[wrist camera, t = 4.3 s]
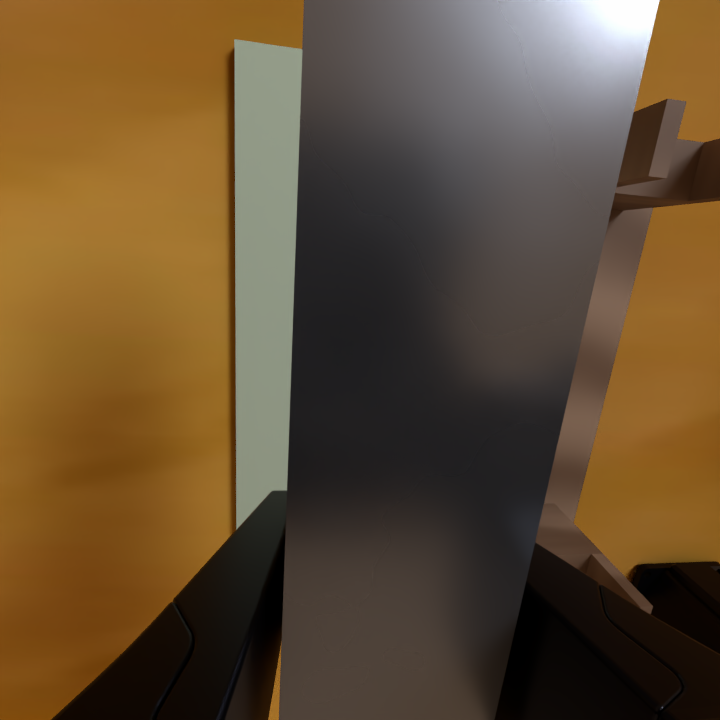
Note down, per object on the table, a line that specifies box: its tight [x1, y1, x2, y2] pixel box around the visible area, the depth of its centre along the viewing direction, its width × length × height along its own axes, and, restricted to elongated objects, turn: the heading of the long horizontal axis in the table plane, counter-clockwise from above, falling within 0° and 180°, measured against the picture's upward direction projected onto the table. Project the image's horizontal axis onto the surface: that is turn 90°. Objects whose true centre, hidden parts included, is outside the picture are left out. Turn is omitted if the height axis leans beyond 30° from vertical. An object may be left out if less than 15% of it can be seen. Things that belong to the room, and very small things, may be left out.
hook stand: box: [535, 99, 720, 614], centre depth 18 cm, size 22×8×8 cm, turn 176°
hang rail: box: [279, 0, 659, 720], centre depth 7 cm, size 24×3×3 cm, turn 176°
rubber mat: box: [234, 39, 302, 530], centre depth 21 cm, size 26×9×1 cm, turn 176°
